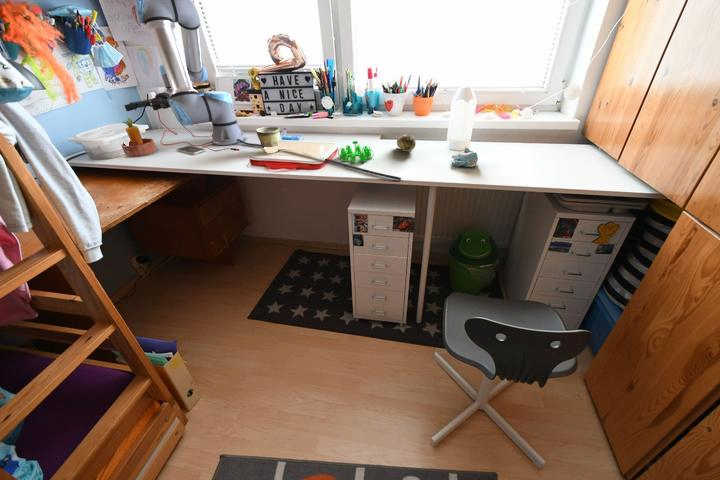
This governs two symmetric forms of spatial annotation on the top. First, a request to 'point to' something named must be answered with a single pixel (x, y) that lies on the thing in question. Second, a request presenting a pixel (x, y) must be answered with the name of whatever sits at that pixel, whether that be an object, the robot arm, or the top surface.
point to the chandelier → (355, 153)
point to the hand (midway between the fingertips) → (139, 107)
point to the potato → (406, 142)
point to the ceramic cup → (268, 136)
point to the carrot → (133, 133)
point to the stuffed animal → (465, 158)
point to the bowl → (140, 148)
